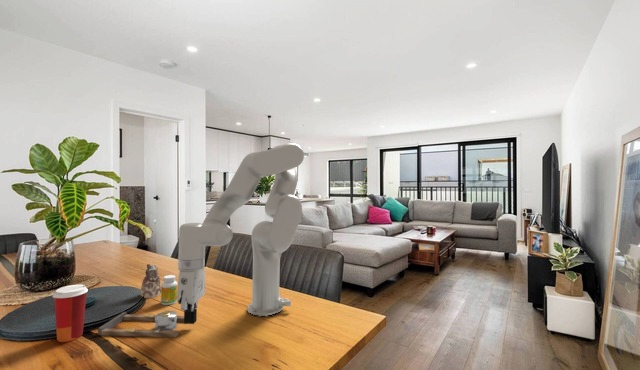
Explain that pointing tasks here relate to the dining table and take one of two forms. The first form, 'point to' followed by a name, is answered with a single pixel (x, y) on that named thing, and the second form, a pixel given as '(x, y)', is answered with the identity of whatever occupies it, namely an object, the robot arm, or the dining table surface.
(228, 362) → the dining table surface
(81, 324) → the paper cup
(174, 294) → the supplement bottle
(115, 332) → the beam track
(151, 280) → the figurine
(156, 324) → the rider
